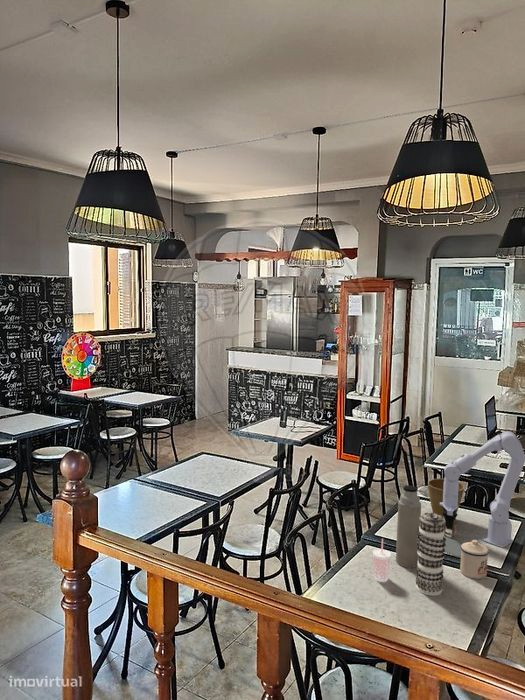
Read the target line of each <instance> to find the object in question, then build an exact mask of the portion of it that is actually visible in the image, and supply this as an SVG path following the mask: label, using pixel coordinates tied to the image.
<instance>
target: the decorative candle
mask: <svg viewBox="0 0 525 700" xmlns="http://www.w3.org/2000/svg"><path fill="white" fill-rule="evenodd" d="M444 523H445V520H444V519H443V518H442V516H441V515H439V514H437V513H433V511H432V512H430V511H429V512H425V513H423V514H422V515H421V517H420V526H419V528H418V529H417V531H418V532H417V538H418V539H417V548H418V550H417V553H418V555H419V556H418V565H417V566H416V567H415V569H416V570H415V571H416V575H415V589H416V590H417V591H418V592H419V593H422V594H424V595H426V596H439V595H441V594H442V593H443V584H444V579H443V578H444V569H443V567H444V566H443V559H444V558H445V556H446V555H445V549H444V548H443V547H444V546H446V544H445V541H446V539H445V538H444V537H445V536H444ZM419 536H420V537H419Z"/></svg>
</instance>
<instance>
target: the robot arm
mask: <svg viewBox="0 0 525 700" xmlns="http://www.w3.org/2000/svg"><path fill="white" fill-rule="evenodd" d="M502 449H503V450H504V451H505V452H506V453H507V454H508V455H509V457H510V460H509V464H508V466H507V469H506V471H505V475H504V477H503V480H502V482H501V485H500V488H499V490H498V493H497V494H496V495H495V498H494V500H493V501H491V502H490V504H489V509H490V513H491V514H490V515H489V516H488V530H487V537H485V538H484V539H483V542H486V543H489V544H491V545H494V546H497V547H501V548H505V547H507V545H509V544H511V543H513V542H514V539H512V529H513V527H512V526H513V525H512V521H511V520H510V519H509V518H510V513H509V511H510V509H511V508H510V505H511V500H512V498H513V496H514V492H515V489H516V487H517V484H518V481H519V479H520V476H521V474H522V472H523V471H522V470H523V468H524V465H525V452H524V449H523V445H522V443H521V441H520V440H519V438H518V437H517V435H516V434H515V433H514V432H512V431H510V430H505V431H503V432H502V433H500V434H497V435H495V436H494V437H492V438H491V439H490V440H489V441H487V442H485V444H483V445H481V446H480V447H479V448H477V449H475V450H474V451H473V452H471V453H469V452H467V453H462V454H460V457H459V458H457V459H456V460H452V461H451V462H450V463H447V465H445V467H444V468H443V471H444V472H443V474H444V478H443V479H444V488H443V502H440V505H441V506H443V509H444V511H443V516H444V518H445V524H446V530H451V531H452V527H453V523H454V520H455V518H456V519H457V517H458V512H457V513H455V511H456V510H457V508H458V487H459V484H458V483H459V479H460V476H461V475H464V474H466V472H468V471H469V470H471V469H472V468H474V467H476V466H477V461H479V460H481V459H483V458H484V457H486V456H487V455H489V454H490V453H492V452H496V451H497V452H503V450H502ZM458 509H459V508H458Z"/></svg>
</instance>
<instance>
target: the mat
mask: <svg viewBox="0 0 525 700" xmlns="http://www.w3.org/2000/svg"><path fill="white" fill-rule="evenodd" d="M444 538H445V539H446V541H445V544H446V546H444V547H443V548H444V549H445V552H447V553H446V554H448V553H449V554H448V555H450V554H452V555H451V556H453V555H454V557H455V556H456V558H461V545H462V544H463V543H464V542H460V541H458V540H455V539H453V538H450V537H447V536H444ZM445 552H444V553H445Z"/></svg>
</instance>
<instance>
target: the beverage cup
mask: <svg viewBox="0 0 525 700" xmlns="http://www.w3.org/2000/svg"><path fill="white" fill-rule="evenodd" d="M372 556H373V578H374V580H375V581H376V582H379V583H385V582H387V581H388V580H389V571H390V564H391V563H390V562H391V557H392V553H391V552H390V551H389V550H386V549H384V538H381V548H378V549H377V548H376V549H374V550H373V551H372Z"/></svg>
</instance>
